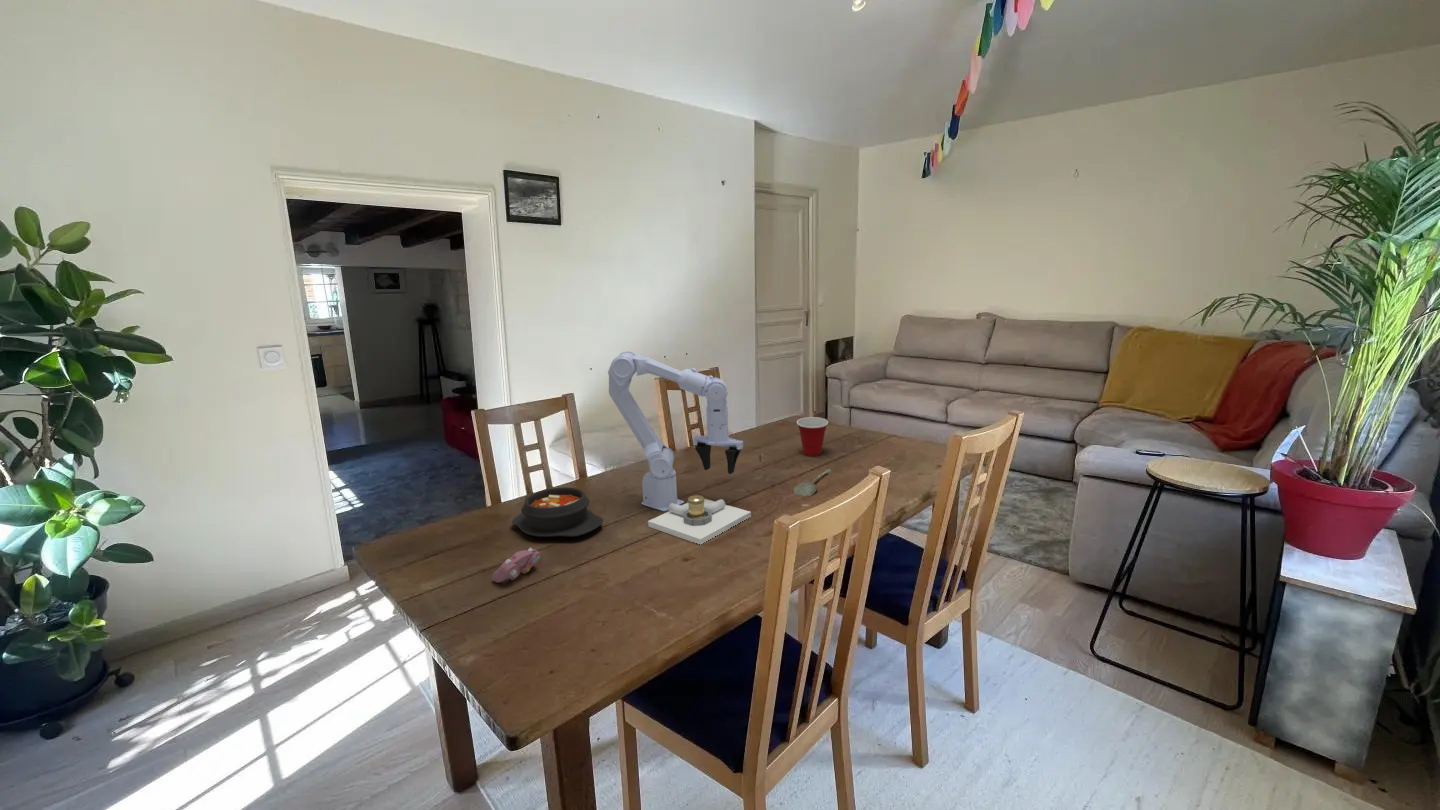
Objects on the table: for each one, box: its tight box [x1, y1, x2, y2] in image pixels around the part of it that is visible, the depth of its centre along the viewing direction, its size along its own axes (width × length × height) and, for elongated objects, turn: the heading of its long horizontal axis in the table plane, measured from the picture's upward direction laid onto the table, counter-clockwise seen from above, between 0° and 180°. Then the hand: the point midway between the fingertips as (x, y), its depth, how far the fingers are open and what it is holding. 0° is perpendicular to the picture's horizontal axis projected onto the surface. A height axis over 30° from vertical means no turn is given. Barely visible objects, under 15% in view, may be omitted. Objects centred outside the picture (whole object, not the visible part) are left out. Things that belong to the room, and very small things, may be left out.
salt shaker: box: [687, 494, 705, 519], centre depth 151 cm, size 4×4×6 cm
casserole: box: [511, 487, 604, 538], centre depth 153 cm, size 25×19×8 cm
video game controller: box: [492, 547, 542, 583], centre depth 129 cm, size 10×5×7 cm, turn 148°
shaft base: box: [647, 498, 752, 546], centre depth 154 cm, size 18×20×4 cm
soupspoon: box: [793, 468, 832, 497], centre depth 178 cm, size 22×3×7 cm
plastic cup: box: [796, 416, 829, 457], centre depth 206 cm, size 11×11×12 cm
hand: (719, 470), depth 164 cm, fingers open, 7 cm apart
